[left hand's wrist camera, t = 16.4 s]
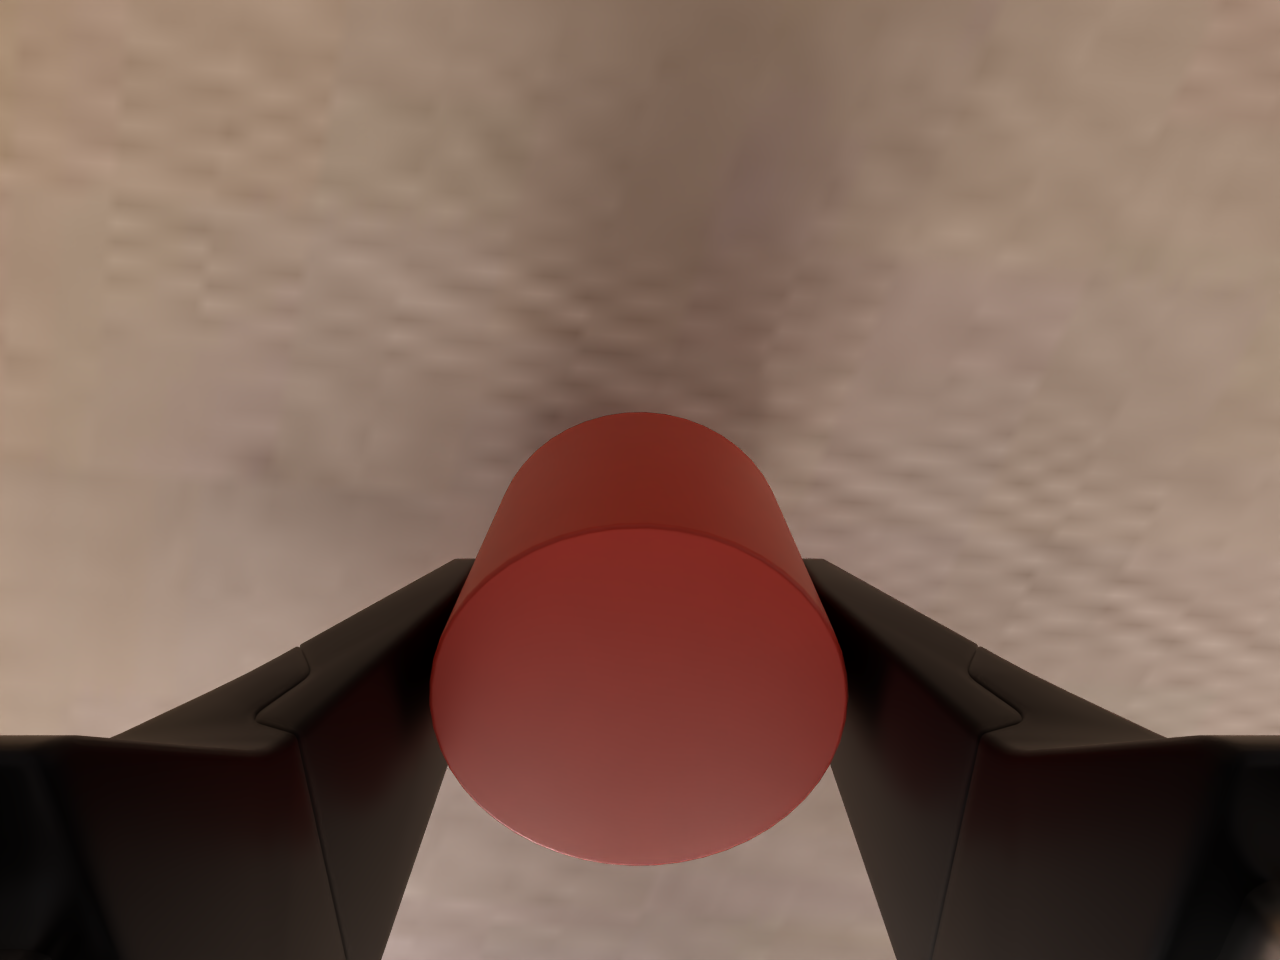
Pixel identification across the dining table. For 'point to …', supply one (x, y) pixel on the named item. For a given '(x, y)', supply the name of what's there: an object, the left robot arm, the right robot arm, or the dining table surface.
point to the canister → (638, 651)
